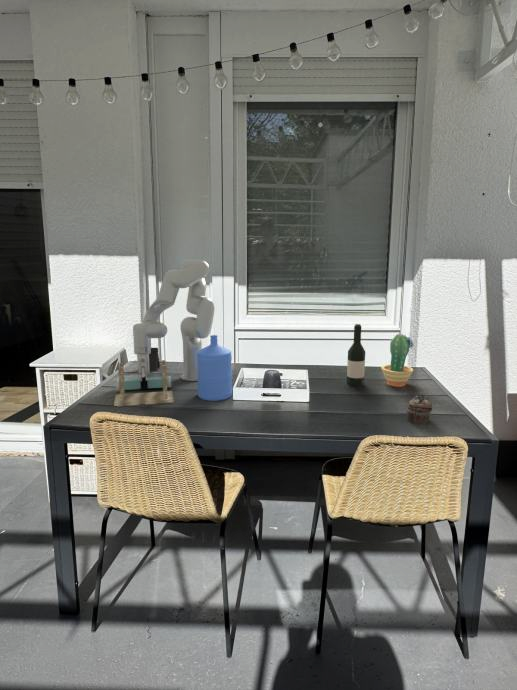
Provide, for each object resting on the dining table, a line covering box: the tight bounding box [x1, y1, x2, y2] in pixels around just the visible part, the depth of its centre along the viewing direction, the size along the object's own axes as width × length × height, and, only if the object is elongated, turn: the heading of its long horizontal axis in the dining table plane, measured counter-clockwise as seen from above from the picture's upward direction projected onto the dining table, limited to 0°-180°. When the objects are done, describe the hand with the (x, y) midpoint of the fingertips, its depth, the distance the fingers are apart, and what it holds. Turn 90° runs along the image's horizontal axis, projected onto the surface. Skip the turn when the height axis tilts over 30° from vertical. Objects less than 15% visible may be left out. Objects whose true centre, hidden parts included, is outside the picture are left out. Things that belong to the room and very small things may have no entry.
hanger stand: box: [113, 359, 174, 407], centre depth 216 cm, size 25×12×16 cm, turn 103°
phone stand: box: [149, 347, 161, 372], centre depth 267 cm, size 9×6×12 cm, turn 178°
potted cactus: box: [380, 333, 414, 388], centre depth 239 cm, size 15×15×25 cm
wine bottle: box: [346, 323, 366, 388], centre depth 238 cm, size 8×8×30 cm
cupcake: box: [405, 394, 433, 424], centre depth 194 cm, size 10×10×10 cm
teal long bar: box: [115, 375, 172, 392], centre depth 232 cm, size 25×6×6 cm, turn 103°
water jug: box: [197, 334, 233, 402], centre depth 221 cm, size 16×16×28 cm
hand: (144, 387), depth 233 cm, fingers closed on teal long bar, 4 cm apart
